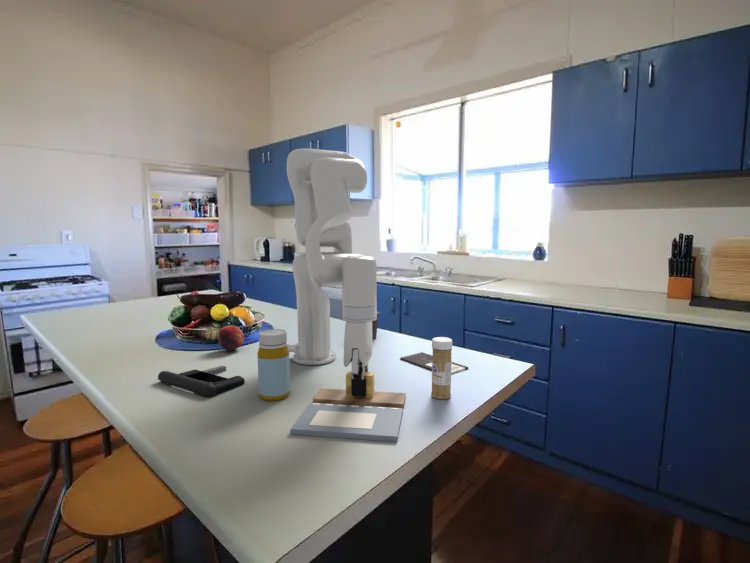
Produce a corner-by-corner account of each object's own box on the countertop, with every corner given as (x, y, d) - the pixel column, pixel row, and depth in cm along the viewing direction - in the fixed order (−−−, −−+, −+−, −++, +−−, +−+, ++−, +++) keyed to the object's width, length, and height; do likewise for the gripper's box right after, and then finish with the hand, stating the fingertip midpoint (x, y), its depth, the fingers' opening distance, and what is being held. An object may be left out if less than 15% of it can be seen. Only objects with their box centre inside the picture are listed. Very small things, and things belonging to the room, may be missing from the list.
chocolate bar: (422, 352, 127) (468, 367, 113) (422, 355, 127) (468, 370, 113) (400, 357, 121) (445, 374, 107) (400, 360, 121) (445, 377, 107)
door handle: (208, 359, 116) (152, 372, 102) (258, 371, 105) (204, 388, 92) (208, 370, 116) (152, 385, 102) (258, 384, 106) (204, 403, 92)
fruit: (248, 347, 135) (247, 323, 134) (238, 354, 127) (237, 329, 126) (225, 346, 136) (224, 323, 135) (214, 353, 128) (212, 328, 127)
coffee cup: (362, 342, 141) (362, 313, 139) (353, 336, 148) (353, 309, 147) (383, 339, 144) (383, 311, 143) (374, 334, 151) (374, 307, 150)
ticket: (290, 434, 77) (290, 428, 76) (310, 407, 88) (309, 402, 88) (397, 441, 74) (397, 436, 74) (402, 412, 85) (402, 407, 85)
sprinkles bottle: (427, 396, 94) (427, 338, 93) (439, 390, 97) (440, 335, 96) (443, 401, 91) (444, 342, 89) (455, 396, 94) (456, 338, 92)
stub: (312, 402, 90) (312, 376, 90) (320, 392, 96) (319, 367, 95) (403, 408, 87) (403, 381, 87) (405, 396, 93) (405, 371, 92)
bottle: (274, 404, 90) (272, 337, 88) (252, 397, 94) (250, 333, 92) (296, 393, 96) (294, 330, 94) (275, 387, 100) (273, 327, 98)
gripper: (350, 305, 98) (351, 379, 101) (333, 319, 83) (335, 407, 85) (381, 306, 97) (381, 381, 99) (370, 320, 81) (371, 409, 84)
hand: (360, 392), depth 92 cm, fingers closed on stub, 2 cm apart
